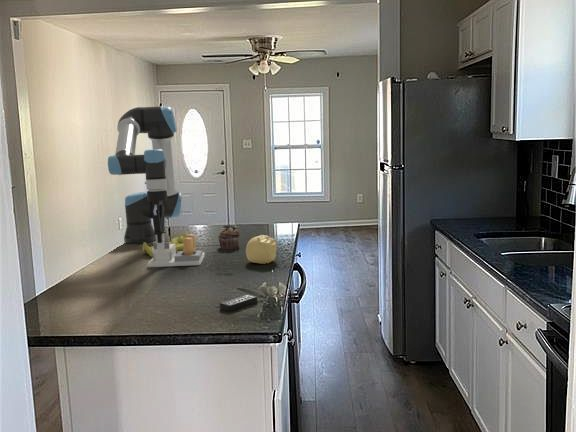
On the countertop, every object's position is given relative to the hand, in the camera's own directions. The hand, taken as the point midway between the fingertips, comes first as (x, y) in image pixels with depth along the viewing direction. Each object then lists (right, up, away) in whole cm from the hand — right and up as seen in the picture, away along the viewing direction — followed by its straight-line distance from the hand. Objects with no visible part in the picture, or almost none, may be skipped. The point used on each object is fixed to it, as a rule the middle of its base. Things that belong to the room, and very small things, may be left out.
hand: (161, 250), depth 217 cm
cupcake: (+23, -1, +30) cm, 38 cm away
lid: (0, 0, +6) cm, 6 cm away
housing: (+5, -5, +6) cm, 9 cm away
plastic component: (-2, -3, +24) cm, 24 cm away
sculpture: (+39, -5, -1) cm, 40 cm away
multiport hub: (+35, -13, -55) cm, 67 cm away
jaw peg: (+10, -3, +4) cm, 11 cm away
